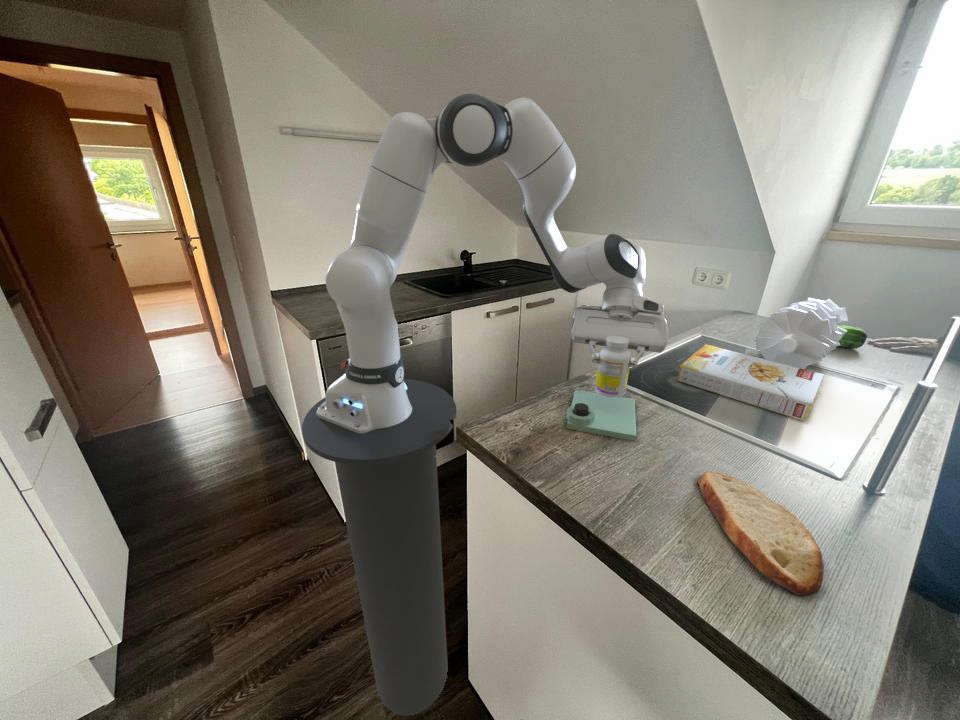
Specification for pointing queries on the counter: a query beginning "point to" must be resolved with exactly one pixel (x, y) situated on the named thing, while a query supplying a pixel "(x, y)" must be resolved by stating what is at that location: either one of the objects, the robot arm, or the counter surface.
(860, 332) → the vegetable
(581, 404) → the button
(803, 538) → the bread slice
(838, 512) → the counter surface
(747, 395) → the cereal box
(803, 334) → the spiral staircase
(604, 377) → the supplement bottle
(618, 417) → the scale
